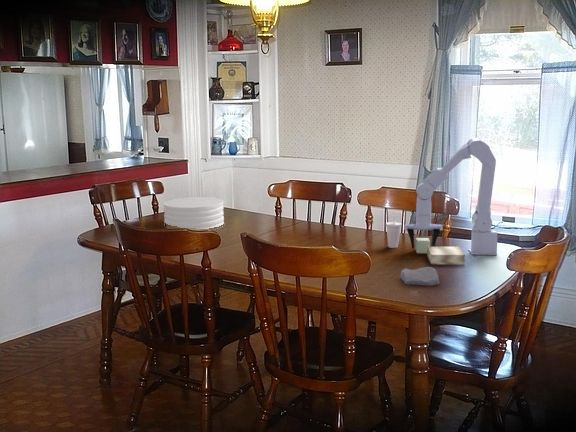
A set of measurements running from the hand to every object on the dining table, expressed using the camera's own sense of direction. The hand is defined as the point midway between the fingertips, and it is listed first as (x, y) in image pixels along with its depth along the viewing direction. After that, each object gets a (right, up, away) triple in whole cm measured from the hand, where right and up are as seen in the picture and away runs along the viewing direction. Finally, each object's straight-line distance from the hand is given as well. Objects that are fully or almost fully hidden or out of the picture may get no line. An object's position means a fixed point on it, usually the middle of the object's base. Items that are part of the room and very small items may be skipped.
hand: (422, 247), depth 255 cm
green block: (0, -2, 0) cm, 2 cm away
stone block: (-9, -10, -38) cm, 40 cm away
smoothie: (-10, 0, +8) cm, 13 cm away
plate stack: (-97, +8, +55) cm, 112 cm away
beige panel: (+6, -4, -12) cm, 14 cm away
